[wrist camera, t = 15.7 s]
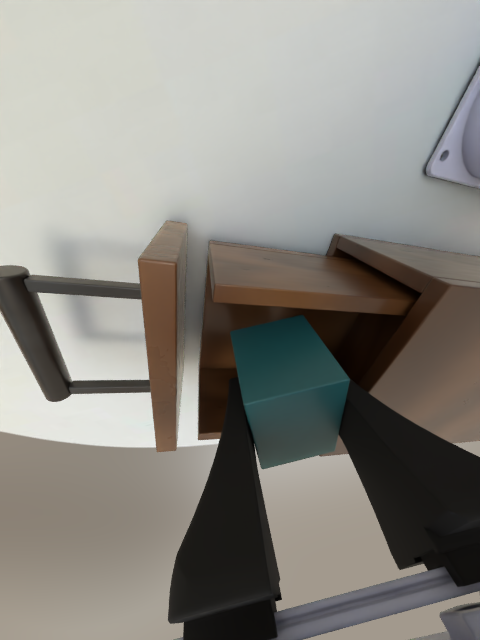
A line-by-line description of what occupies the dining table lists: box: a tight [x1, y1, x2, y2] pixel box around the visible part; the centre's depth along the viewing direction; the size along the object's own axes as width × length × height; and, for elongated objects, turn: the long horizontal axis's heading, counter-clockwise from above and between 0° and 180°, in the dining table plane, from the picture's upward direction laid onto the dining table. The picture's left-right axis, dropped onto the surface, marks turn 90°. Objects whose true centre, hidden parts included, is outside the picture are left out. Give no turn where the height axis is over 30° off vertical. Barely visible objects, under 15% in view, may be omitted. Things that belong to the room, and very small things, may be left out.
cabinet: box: [319, 234, 480, 456], centre depth 17 cm, size 17×14×9 cm
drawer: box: [0, 221, 422, 452], centre depth 14 cm, size 22×12×7 cm, turn 80°
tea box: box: [230, 315, 350, 469], centre depth 11 cm, size 6×4×4 cm, turn 10°
